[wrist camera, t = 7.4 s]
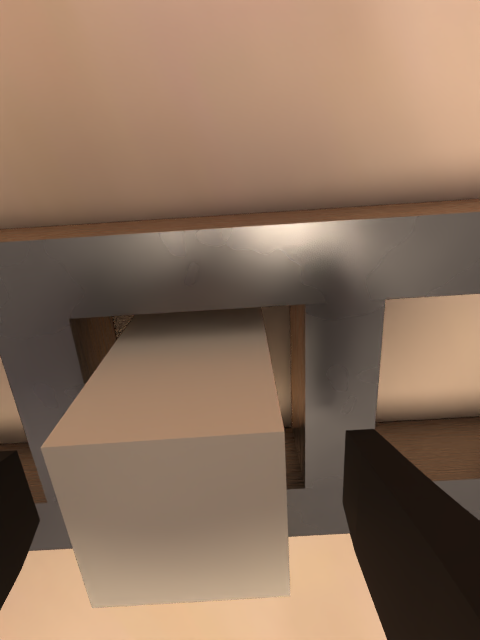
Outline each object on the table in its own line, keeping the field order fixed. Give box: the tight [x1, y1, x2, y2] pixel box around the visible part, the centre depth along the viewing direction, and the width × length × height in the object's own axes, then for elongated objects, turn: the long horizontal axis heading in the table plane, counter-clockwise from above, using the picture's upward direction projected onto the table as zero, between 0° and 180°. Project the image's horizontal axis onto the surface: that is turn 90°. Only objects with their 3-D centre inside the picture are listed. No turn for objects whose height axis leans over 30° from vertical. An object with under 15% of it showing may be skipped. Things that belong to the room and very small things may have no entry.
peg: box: [41, 307, 290, 608], centre depth 10 cm, size 4×4×7 cm
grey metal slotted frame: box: [0, 199, 480, 551], centre depth 12 cm, size 26×10×3 cm, turn 93°
